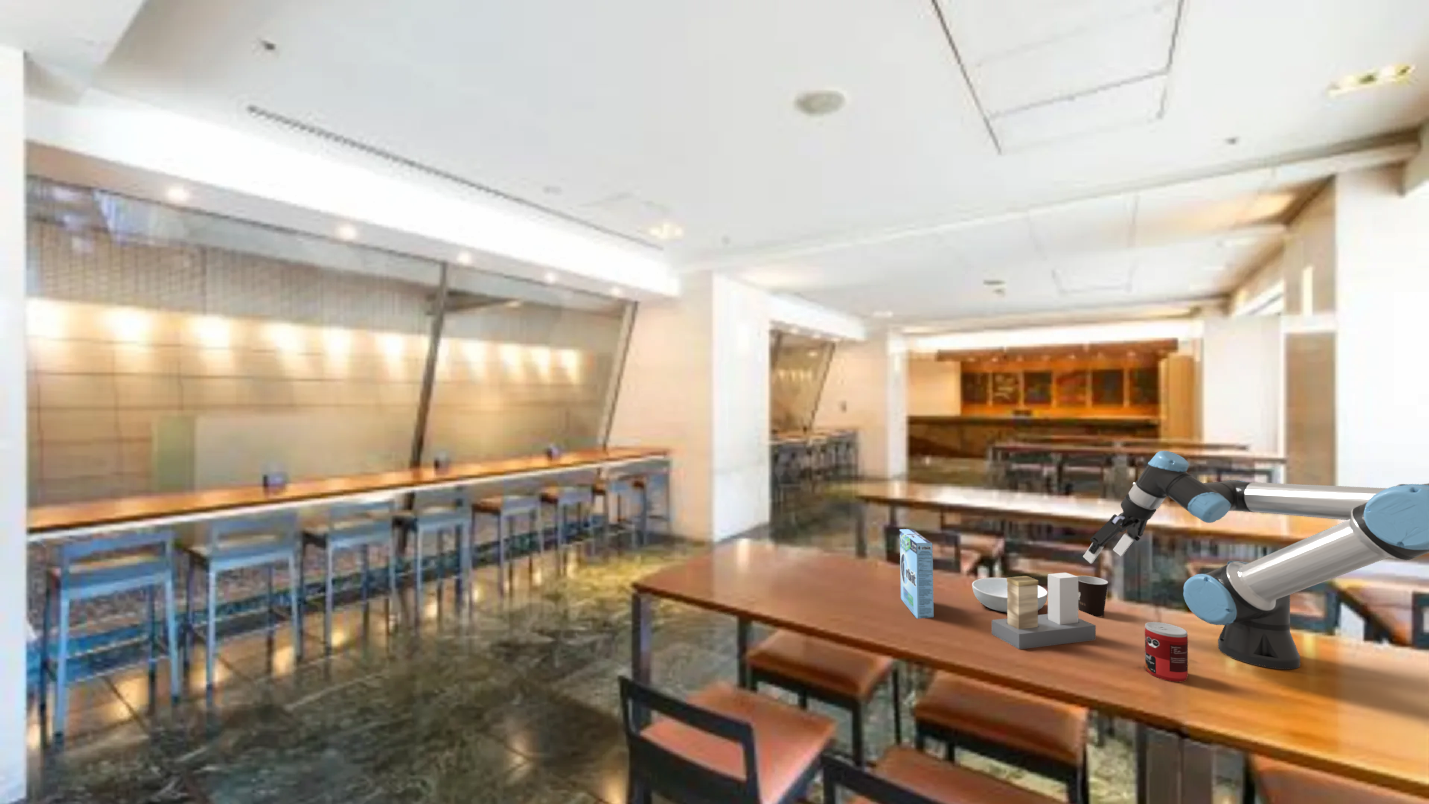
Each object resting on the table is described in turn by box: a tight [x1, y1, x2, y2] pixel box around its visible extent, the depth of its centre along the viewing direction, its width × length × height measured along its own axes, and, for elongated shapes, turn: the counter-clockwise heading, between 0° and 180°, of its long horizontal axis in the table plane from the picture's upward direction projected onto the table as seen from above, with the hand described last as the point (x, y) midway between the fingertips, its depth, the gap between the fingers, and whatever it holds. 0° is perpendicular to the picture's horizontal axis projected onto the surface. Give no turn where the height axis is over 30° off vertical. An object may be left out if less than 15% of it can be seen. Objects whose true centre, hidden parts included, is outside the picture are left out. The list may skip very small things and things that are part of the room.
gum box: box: [899, 528, 935, 620], centre depth 181 cm, size 20×5×23 cm, turn 177°
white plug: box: [1047, 572, 1079, 625], centre depth 158 cm, size 4×6×16 cm, turn 104°
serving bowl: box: [971, 577, 1048, 614], centre depth 181 cm, size 21×21×7 cm
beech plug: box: [1006, 575, 1039, 629], centre depth 155 cm, size 4×6×16 cm
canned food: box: [1144, 621, 1189, 683], centre depth 137 cm, size 8×8×11 cm
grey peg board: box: [991, 613, 1097, 650], centre depth 156 cm, size 10×24×5 cm, turn 104°
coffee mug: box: [1076, 575, 1109, 618], centre depth 179 cm, size 12×9×10 cm
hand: (1102, 556), depth 171 cm, fingers open, 13 cm apart
